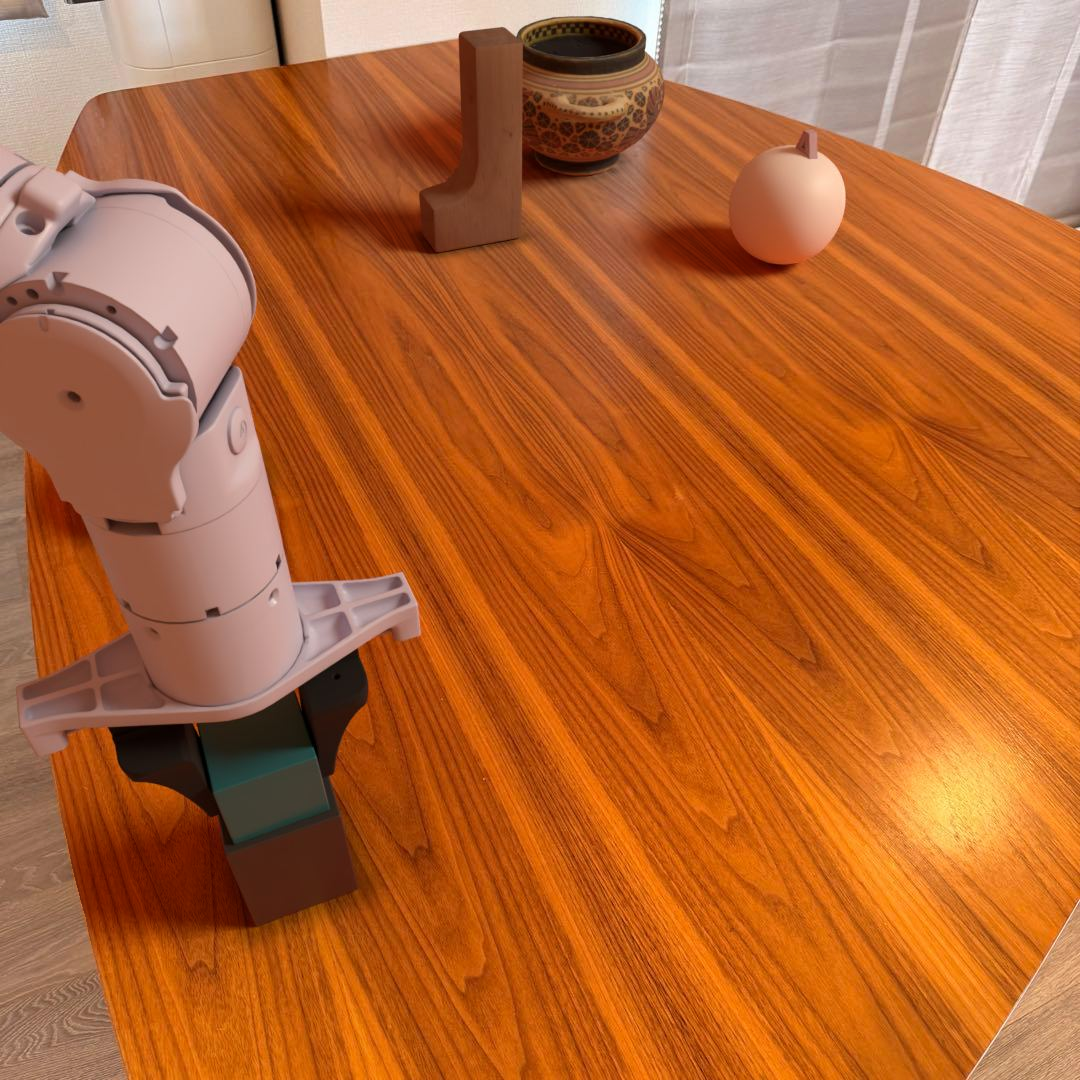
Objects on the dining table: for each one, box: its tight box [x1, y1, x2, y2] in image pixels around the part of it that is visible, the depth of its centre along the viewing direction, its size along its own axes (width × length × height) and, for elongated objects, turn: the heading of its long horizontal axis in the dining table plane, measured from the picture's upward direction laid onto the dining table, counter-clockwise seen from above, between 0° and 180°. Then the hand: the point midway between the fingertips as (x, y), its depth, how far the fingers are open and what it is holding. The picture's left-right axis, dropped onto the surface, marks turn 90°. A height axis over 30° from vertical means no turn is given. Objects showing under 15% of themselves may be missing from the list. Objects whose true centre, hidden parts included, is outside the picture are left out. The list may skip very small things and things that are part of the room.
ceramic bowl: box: [515, 15, 666, 176], centre depth 104 cm, size 24×18×15 cm
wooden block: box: [418, 26, 523, 253], centre depth 89 cm, size 9×4×18 cm, turn 113°
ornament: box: [728, 128, 847, 265], centre depth 89 cm, size 10×10×12 cm
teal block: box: [195, 689, 330, 844], centre depth 42 cm, size 4×4×4 cm
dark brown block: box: [216, 775, 359, 927], centre depth 46 cm, size 5×5×7 cm
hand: (269, 776), depth 43 cm, fingers closed on teal block, 4 cm apart
